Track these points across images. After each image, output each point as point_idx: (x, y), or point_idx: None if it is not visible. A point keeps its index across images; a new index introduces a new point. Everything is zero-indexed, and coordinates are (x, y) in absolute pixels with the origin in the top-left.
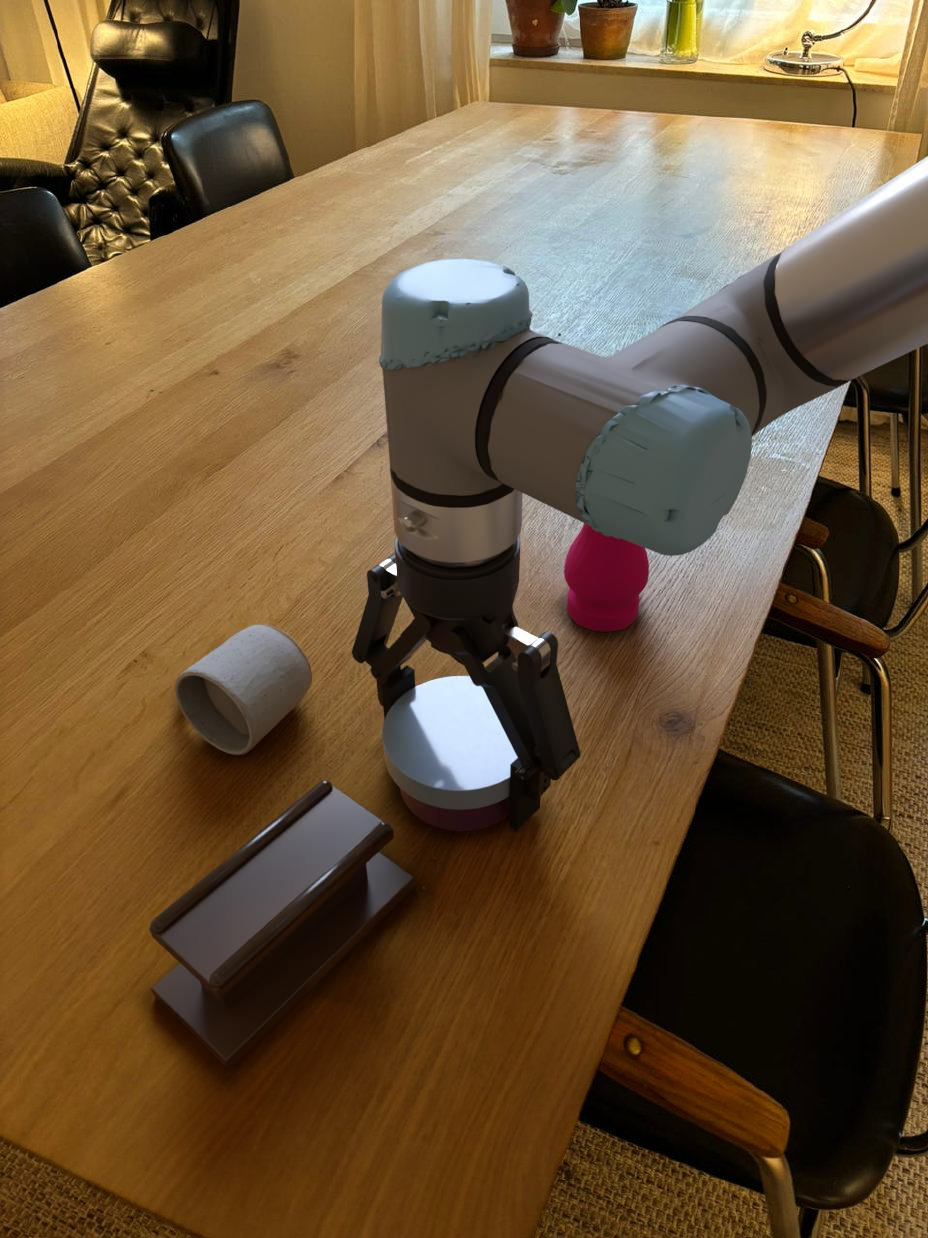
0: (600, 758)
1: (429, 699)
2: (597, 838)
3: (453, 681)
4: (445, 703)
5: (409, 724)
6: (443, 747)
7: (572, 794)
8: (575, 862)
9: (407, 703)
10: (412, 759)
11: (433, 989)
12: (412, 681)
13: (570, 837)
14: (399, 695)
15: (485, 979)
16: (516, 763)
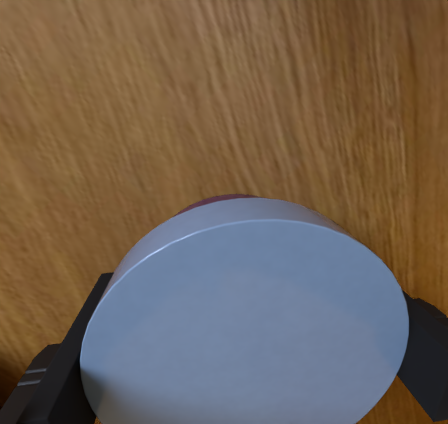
0: (374, 98)
1: (137, 366)
2: (427, 222)
3: (127, 300)
4: (173, 350)
5: (167, 422)
6: (259, 411)
7: (368, 189)
8: (416, 264)
9: (114, 400)
10: None
11: (363, 419)
12: (67, 385)
13: (397, 243)
14: (85, 409)
15: (395, 392)
16: (443, 413)
